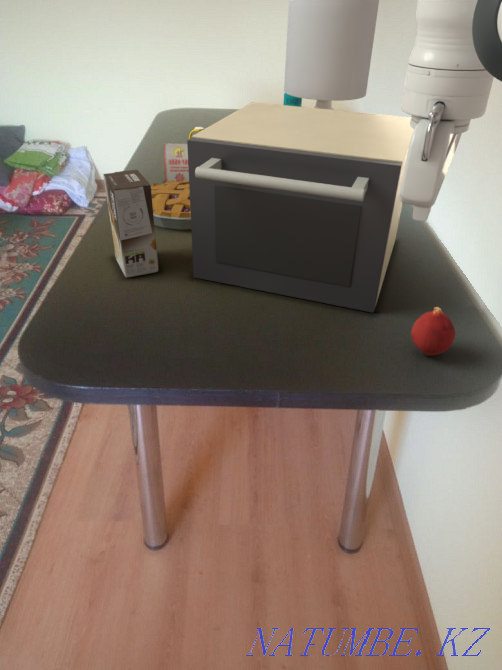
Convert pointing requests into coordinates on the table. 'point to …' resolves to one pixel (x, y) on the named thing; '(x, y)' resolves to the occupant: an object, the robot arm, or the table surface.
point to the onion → (433, 332)
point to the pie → (171, 205)
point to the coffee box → (132, 222)
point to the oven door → (291, 220)
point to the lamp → (329, 49)
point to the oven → (321, 138)
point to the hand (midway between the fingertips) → (421, 216)
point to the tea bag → (176, 162)
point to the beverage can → (292, 100)
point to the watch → (195, 130)
